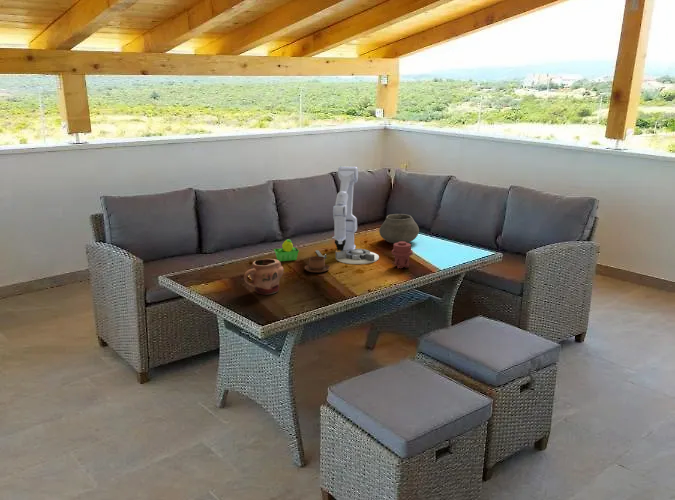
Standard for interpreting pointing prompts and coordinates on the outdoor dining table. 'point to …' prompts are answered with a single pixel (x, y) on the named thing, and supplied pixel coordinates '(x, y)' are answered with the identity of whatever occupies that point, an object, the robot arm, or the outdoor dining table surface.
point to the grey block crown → (348, 254)
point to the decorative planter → (265, 276)
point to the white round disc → (368, 259)
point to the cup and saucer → (317, 264)
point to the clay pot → (399, 228)
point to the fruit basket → (287, 252)
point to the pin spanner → (320, 254)
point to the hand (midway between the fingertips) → (340, 254)
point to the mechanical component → (402, 254)
